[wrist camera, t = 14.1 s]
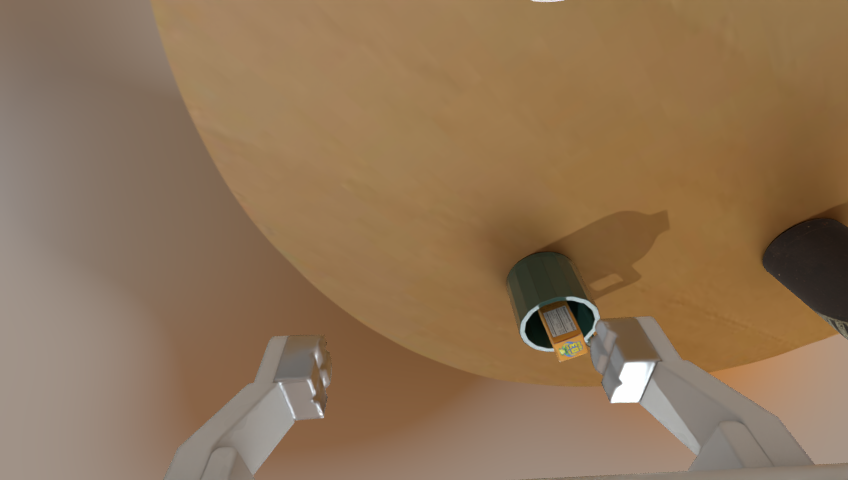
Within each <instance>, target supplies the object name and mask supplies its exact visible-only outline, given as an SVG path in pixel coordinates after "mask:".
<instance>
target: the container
mask: <svg viewBox="0 0 848 480" xmlns="http://www.w3.org/2000/svg"><path fill="white" fill-rule="evenodd" d="M763 266H764V268H765V269H766V270H767V272H769V273H770V274H771V275H773V276H774V277H775V278H776V279H777V280H778V281H779V282H781V283H782V284H783V285H784V286H785V287H787V288H788V289H789V290H790V291H791V292H792V293H794V294H795V295H796V296H797V297H798V298H800V299H801V300H802V301H803V302H804V303H805V304H807V305H808V306H809V307H810V308H811V309H812V310H813V311H815V312H816V313H817V314H818V315H819V316H821V317H822V318H823V319H824V320H825V321H826V322H828V323H829V324H830V325H831V326H832V327H833V328H834V329H836V330H837V331H838V332H839V333H840V334H841V335H843V336H844V337H845V338H846V339H847V340H848V227H846V226H845V225H843V224H841V223H840V222H838V221H836V220H833V219H815V220H810V221H807V222H804V223H801V224H799V225H797V226H795V227H792V228H791V229H789V230H787V231H786V232H784V233H783V234H781V235H780V236H779V237H778V238H776V239H775V240H774V241H773V242H772V243H771V244H770V246H769V247H768V248H767V250H766V252H765V254H764V257H763Z"/></svg>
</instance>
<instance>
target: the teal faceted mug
mask: <svg viewBox="0 0 848 480" xmlns="http://www.w3.org/2000/svg"><path fill="white" fill-rule="evenodd" d="M507 289H508V290H507V291H508V295H509V298H510V302H511V305H512V309H513V312H514V316H515V319H516V323H517V326H518V330H519V333H520V335H521V337H522V339H523V341H524V342H525V343H526V344H527V345H529V346H530V347H532V348H534V349H537V350H541V351H546V352H550V351H554V349H553V346H552V344H551V342H550V339H549V337H548V335H547V332H546V330H545V327H544V325H543V323H542V320H541V318H540V315H539V313H538V309H540V308H541V307H543V306H545V305H548V304H551V303H554V302H557V301H566V302H567V304H568V306H569V308H570V310H571V312H572V314H573V316H574V318H575V320H576V322H577V324H578V326H579V328H580V330H581V332H582V334H583V337H584V340H585V343H586V346H588V347H590V344H591V340H592V338H593V337H594V335H593V333H594V332H595V331H596V330H595V325H596V322H597V321H598V320H599V319H600V315H599V312H598V308H597V306H596V304H595V302H594V300H593V299H592V297H591V295H590V293H589V291H588V289H587V287H586V285H585V283H584V281H583V279H582V277H581V276H580V274H579V272H578V270H577V268H576V266H575V265H574V264H573V262H572V261H571V260H570V259H569V258H568V257H566V256H564V255H562V254H559V253H555V252H541V253H536V254H533V255H530V256H528V257H526V258H524V259H522V260H521V261H519V262H518V263H517V264H516V265H515V266H514V267H513V268H512V269H511V271H510V273H509V275H508V277H507Z"/></svg>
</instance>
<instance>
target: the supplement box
mask: <svg viewBox="0 0 848 480" xmlns="http://www.w3.org/2000/svg"><path fill="white" fill-rule="evenodd" d="M538 313H539V315H540V318H541V320H542V323H543V325H544V327H545V330H546V332H547V335H548V337H549V339H550V342H551V344H552V346H553V349H554V351H555V354H556V356H557V358H558V360H559V362H562V361H565V360H568V359H571V358H574V357H577V356H580V355H582V354H585V353H587V352H588V350H587V346H586V343H585V340H584V337H583V334H582V332H581V330H580V328H579V326H578V324H577V322H576V320H575V318H574V316H573V314H572V312H571V310H570V308H569V306H568V304H567V302H566V301H557V302H554V303H551V304H548V305H545V306H543V307H541V308H540V309H538Z"/></svg>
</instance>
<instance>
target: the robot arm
mask: <svg viewBox="0 0 848 480" xmlns="http://www.w3.org/2000/svg"><path fill="white" fill-rule="evenodd" d="M595 330H596V332H597V335H595V336H594V337H593V338H592V340H591V344H590V354H591V359H592V362H593V365H594V367H595V370H597V371H598V372H599V373H600V374H602V375H603V379H602V382H601V383H602V386H603V388H604V390H605V392H606V394H607V396H608V399H609V401H610V403H627V402H640V404H641V405H642V406H643V407H644V408H645V409H646V410H647V411H648V412H650V413H651V414H652V415H653V416H654V417H655V418H656V419H657V420H658V421H659V422H661V423H662V424H663V425H664V426H665V427H666V428H667V429H668V430H669V431H670V432H672V433H673V434H674V435H675V436H676V437H677V438H678V439H679V440H680V441H681V442H682V443H684V444H685V445H686V446H687V447H688V448H689V449H690V450H691V451H692V452H693V453H695V454H696V455H697V457H696V459H695V460H694V462H693V463H692V465H691V466H690V468H689V470H688V471H682V472H663V473H643V474H626V475H604V476H585V477H565V478H544V479H524V480H848V463H840V464H839V463H838V464H819V465H815V464H814V463H813V461H812V460H811V459H810V458H809V456H808V455H807V454H806V452H805V451H804V450H803V449H802V447H801V446H800V445H799V444H798V442H797V441H796V440H795V438H794V437H793V436H792V435H791V433H790V432H789V431H788V430H787V428H786V427H785V426H784V424H783V423H782V422H781V420H780V419H779V418H778V417H777V416H775V415H774V414H772V413H770V412H769V411H767V410H765V409H764V408H763V407H761V406H759V405H758V404H756V403H754V402H753V401H751V400H750V399H748V398H747V397H745V396H743V395H742V394H740V393H739V392H737V391H736V390H734V389H732V388H731V387H729V386H728V385H726V384H725V383H723V382H721V381H720V380H718V379H717V378H715V377H713V376H712V375H710V374H709V373H707V372H706V371H704V370H702V369H701V368H699V367H698V366H696V365H694V364H693V363H691V362H690V361H688V360H682V359H681V357H680V356H679V354H678V353H677V351H676V350H675V348H674V347H673V345H672V344H671V342H670V341H669V339H668V338H667V336H666V335H665V333H664V332H663V330H662V329H661V327H660V326H659V325H658V323H657V322H656V320H655V319H654V318H653V317H651V316H645V317H633V318H632V317H625V318H610V319H599V320H598V321H597V322H596V325H595ZM326 343H327V342H326V339H325V336H324V335H296V336H273V337H272V338H271V339H270V341H269V343H268V346H267V348H266V351H265V354H264V356H263V359H262V362H261V365H260V367H259V370H258V373H257V376H256V378H255V381H254V383H253V384H248V385H247V386H246V387H245V388H243V389H242V390H241V391H240V392H239V393H238V394H237V395H236V396H235V397H234V398H232V399H231V401H229V402H228V403H227V404H226V405H225V406H224V407H223V408H221V409H220V410H219V411H218V412H217V413H216V414H215V415H214V416H213V417H212V418H210V420H208V421H207V422H206V423H205V424H204V425H203V426H202V427H201V428H199V430H197V431H196V432H195V433H194V434H193V435H192V436H191V437H190V438H188V439H187V440H186V441H185V442H184V443H183V444H182V445H181V446H180V447H179V448H178V449H177V452H176V454H175V456H174V458H173V460H172V462H171V464H170V466H169V468H168V471H167V473H166V475H165V477H164V479H163V480H255V478H254V477H253V475H254V474H255V472H256V471H257V470H258V469H259V467H260V466H261V465H262V463H263V462H264V461H265V460H266V458H267V457H268V456H269V454H270V453H271V452H272V450H273V449H274V448H275V446H276V445H277V444H278V443H279V442H280V440H281V439H282V438H283V436H284V435H285V434H286V432H287V431H288V430H289V428H290V427H291V426H292V425H293V423H294V420H304V419H316V418H323V417H324V412H325V407H326V402H327V394H326V391H325V388H327V386H328V385H329V384H330V381H331V372H332V363H331V357H330V353H329V352H328V351H327V350H325V348H326Z"/></svg>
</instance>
